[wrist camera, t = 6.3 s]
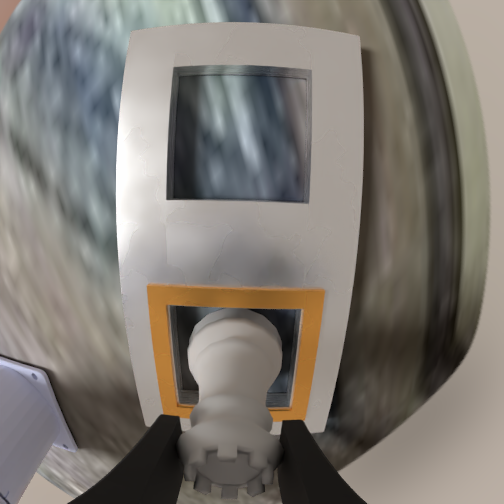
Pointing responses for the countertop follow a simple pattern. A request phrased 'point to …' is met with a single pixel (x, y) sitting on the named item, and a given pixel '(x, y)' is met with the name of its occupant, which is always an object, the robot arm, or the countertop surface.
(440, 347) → the countertop surface
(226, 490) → the rook chess piece
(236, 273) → the rail plate
